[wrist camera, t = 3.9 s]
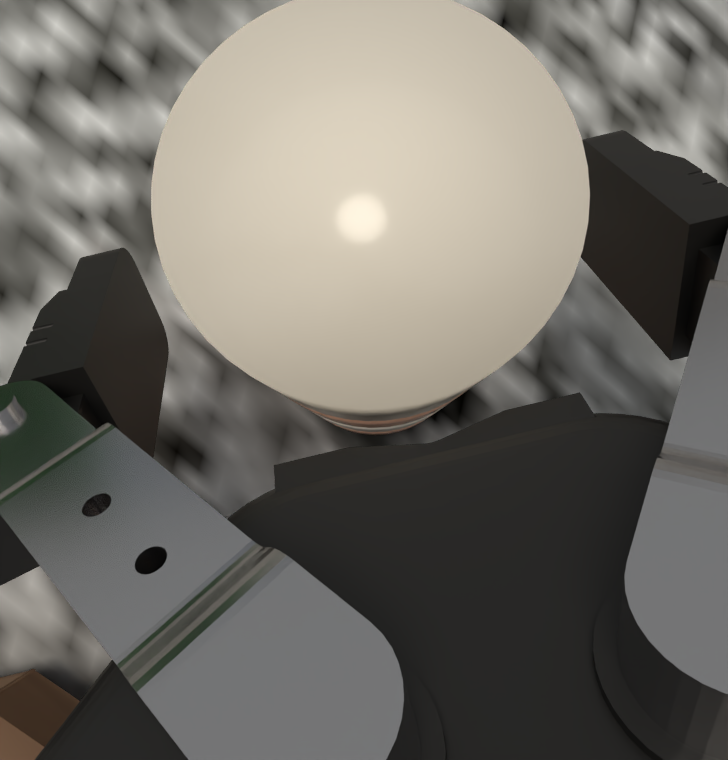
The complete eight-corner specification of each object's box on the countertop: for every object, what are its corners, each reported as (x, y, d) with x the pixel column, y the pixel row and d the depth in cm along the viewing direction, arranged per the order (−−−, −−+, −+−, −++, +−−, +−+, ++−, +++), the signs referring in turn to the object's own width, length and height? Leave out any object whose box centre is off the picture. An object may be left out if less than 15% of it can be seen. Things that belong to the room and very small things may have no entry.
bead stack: (309, 453, 16) (199, 455, 6) (271, 283, 17) (112, 41, 7) (482, 412, 16) (643, 349, 6) (439, 243, 17) (525, -57, 7)
